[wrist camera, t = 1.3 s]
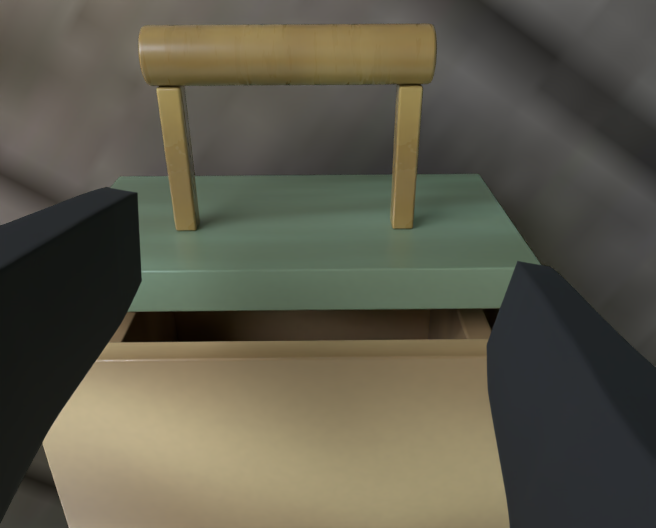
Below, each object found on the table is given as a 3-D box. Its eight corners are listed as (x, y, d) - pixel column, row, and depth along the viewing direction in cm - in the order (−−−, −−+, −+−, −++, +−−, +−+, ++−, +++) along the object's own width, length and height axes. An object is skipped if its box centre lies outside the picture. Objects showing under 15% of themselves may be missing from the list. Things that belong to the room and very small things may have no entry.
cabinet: (119, 218, 22) (14, 361, 15) (483, 215, 22) (567, 355, 15) (167, 477, 29) (112, 669, 21) (449, 474, 29) (495, 664, 21)
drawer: (89, 8, 18) (-27, 41, 12) (499, 6, 18) (588, 37, 12) (167, 444, 26) (122, 590, 20) (446, 440, 26) (483, 586, 20)
